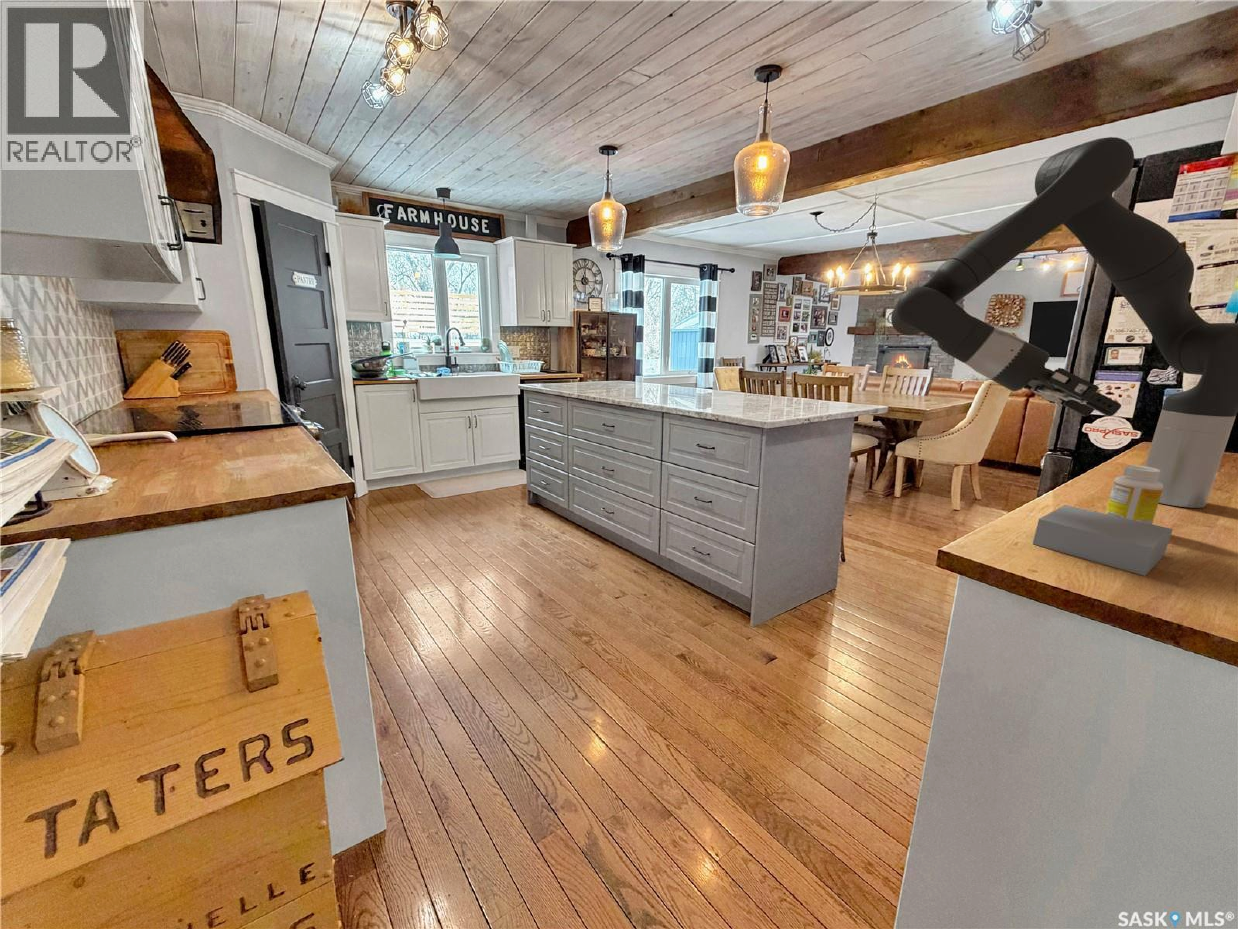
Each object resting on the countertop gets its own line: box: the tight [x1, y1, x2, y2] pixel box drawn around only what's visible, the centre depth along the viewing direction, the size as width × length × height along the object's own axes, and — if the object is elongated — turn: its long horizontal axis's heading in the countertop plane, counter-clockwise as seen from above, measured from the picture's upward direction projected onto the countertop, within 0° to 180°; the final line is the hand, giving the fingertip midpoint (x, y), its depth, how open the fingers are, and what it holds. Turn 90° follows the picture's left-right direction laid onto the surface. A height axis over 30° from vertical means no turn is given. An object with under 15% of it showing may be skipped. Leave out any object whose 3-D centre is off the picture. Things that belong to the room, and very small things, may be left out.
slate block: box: [1032, 504, 1174, 577], centre depth 73 cm, size 12×12×4 cm
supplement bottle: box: [1104, 464, 1163, 524], centre depth 81 cm, size 6×6×10 cm
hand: (1103, 411), depth 81 cm, fingers open, 8 cm apart
